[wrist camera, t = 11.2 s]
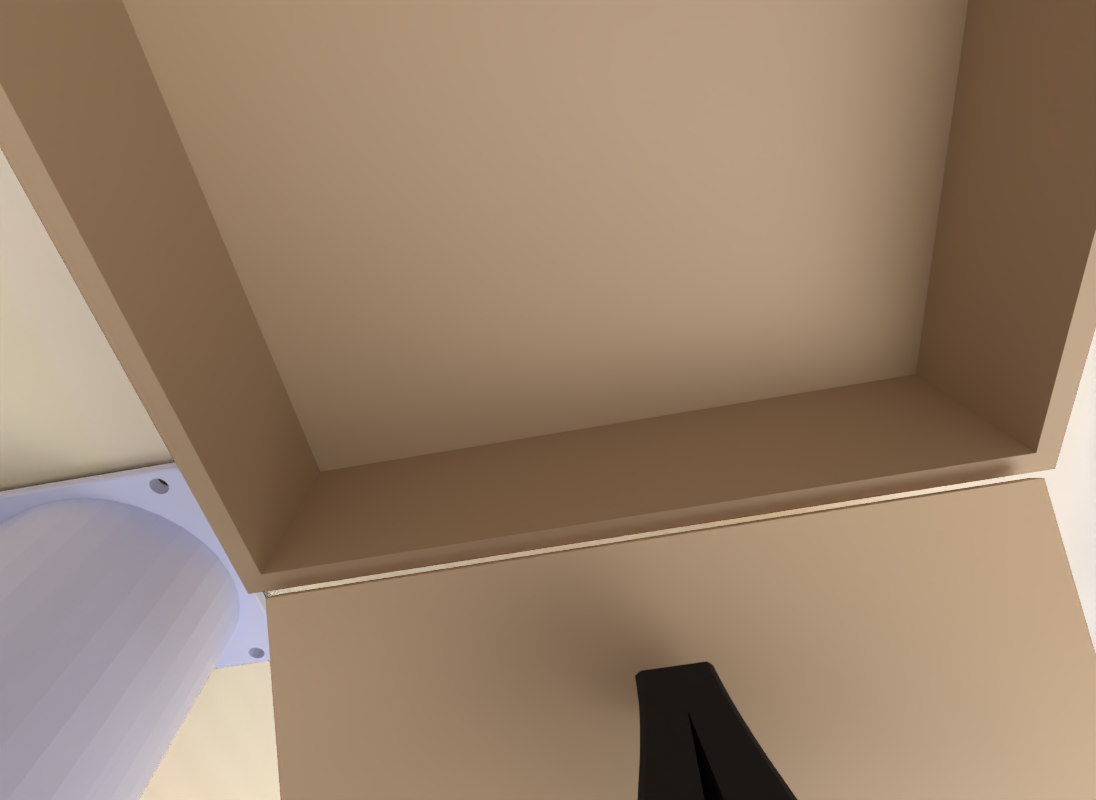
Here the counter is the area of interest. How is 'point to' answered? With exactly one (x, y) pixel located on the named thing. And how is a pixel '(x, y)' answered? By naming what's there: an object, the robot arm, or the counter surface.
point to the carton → (565, 254)
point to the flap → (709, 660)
